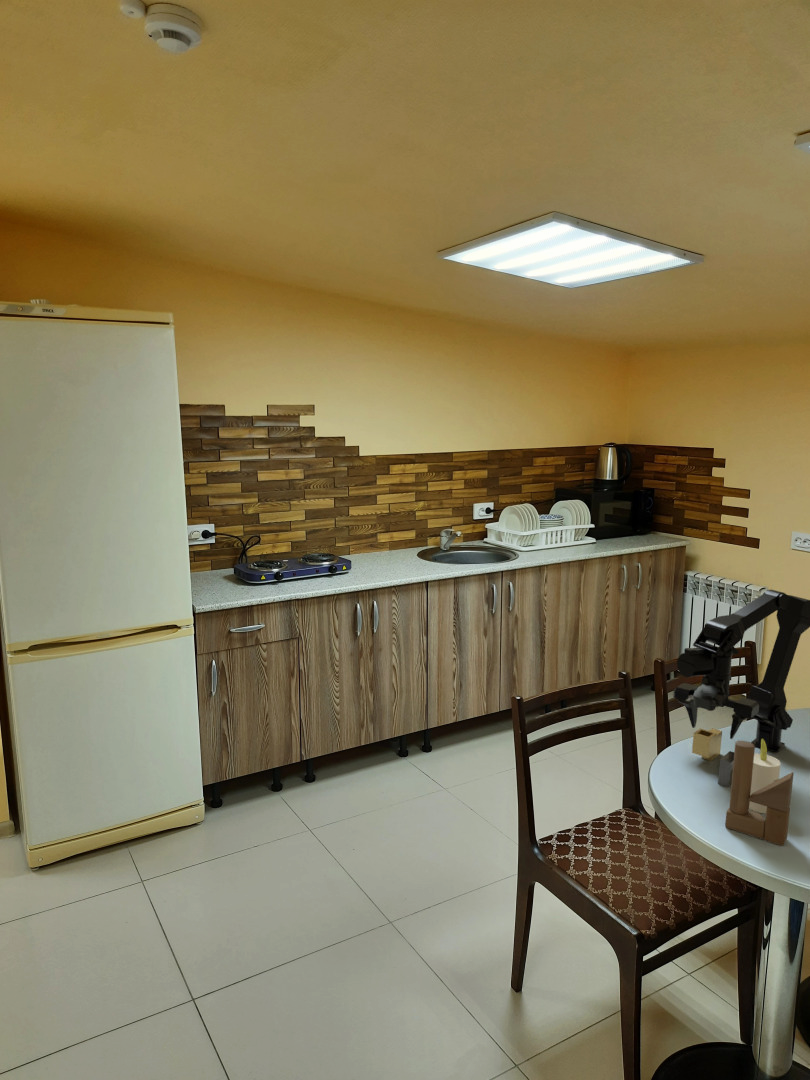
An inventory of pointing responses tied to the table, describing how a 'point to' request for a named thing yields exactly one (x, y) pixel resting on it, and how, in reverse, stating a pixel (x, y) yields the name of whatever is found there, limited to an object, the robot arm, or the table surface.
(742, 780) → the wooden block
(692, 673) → the robot arm
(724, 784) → the block with metal peg
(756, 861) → the table surface
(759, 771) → the candle
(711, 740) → the square hoop paddle
